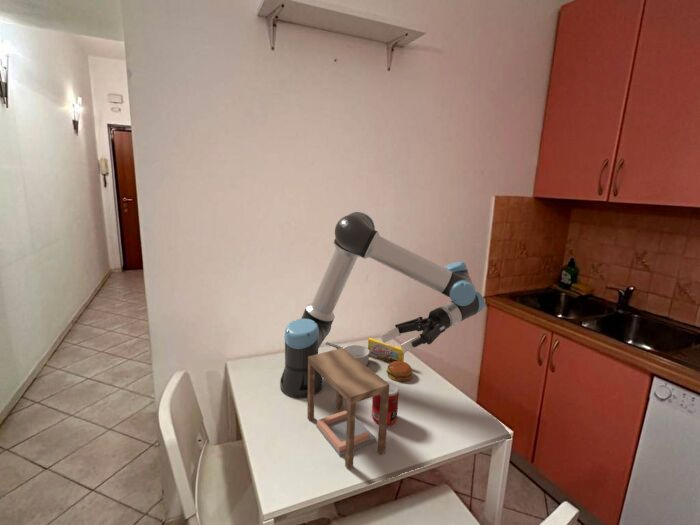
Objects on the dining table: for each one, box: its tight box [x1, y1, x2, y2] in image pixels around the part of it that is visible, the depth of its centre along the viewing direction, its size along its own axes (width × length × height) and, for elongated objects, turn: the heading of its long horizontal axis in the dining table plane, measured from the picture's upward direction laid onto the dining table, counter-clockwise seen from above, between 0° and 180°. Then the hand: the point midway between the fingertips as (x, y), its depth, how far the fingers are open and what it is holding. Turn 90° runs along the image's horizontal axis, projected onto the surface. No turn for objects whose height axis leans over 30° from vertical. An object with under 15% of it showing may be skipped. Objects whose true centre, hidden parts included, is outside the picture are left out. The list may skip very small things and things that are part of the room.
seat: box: [315, 409, 377, 457], centre depth 107 cm, size 12×14×2 cm
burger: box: [386, 361, 413, 382], centre depth 140 cm, size 10×9×5 cm
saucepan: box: [325, 341, 370, 367], centre depth 150 cm, size 12×20×6 cm, turn 61°
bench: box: [306, 348, 389, 470], centre depth 105 cm, size 12×24×21 cm, turn 32°
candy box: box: [367, 337, 405, 365], centre depth 150 cm, size 16×2×8 cm, turn 55°
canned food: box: [371, 380, 400, 426], centre depth 114 cm, size 8×8×11 cm
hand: (391, 343), depth 116 cm, fingers open, 13 cm apart
